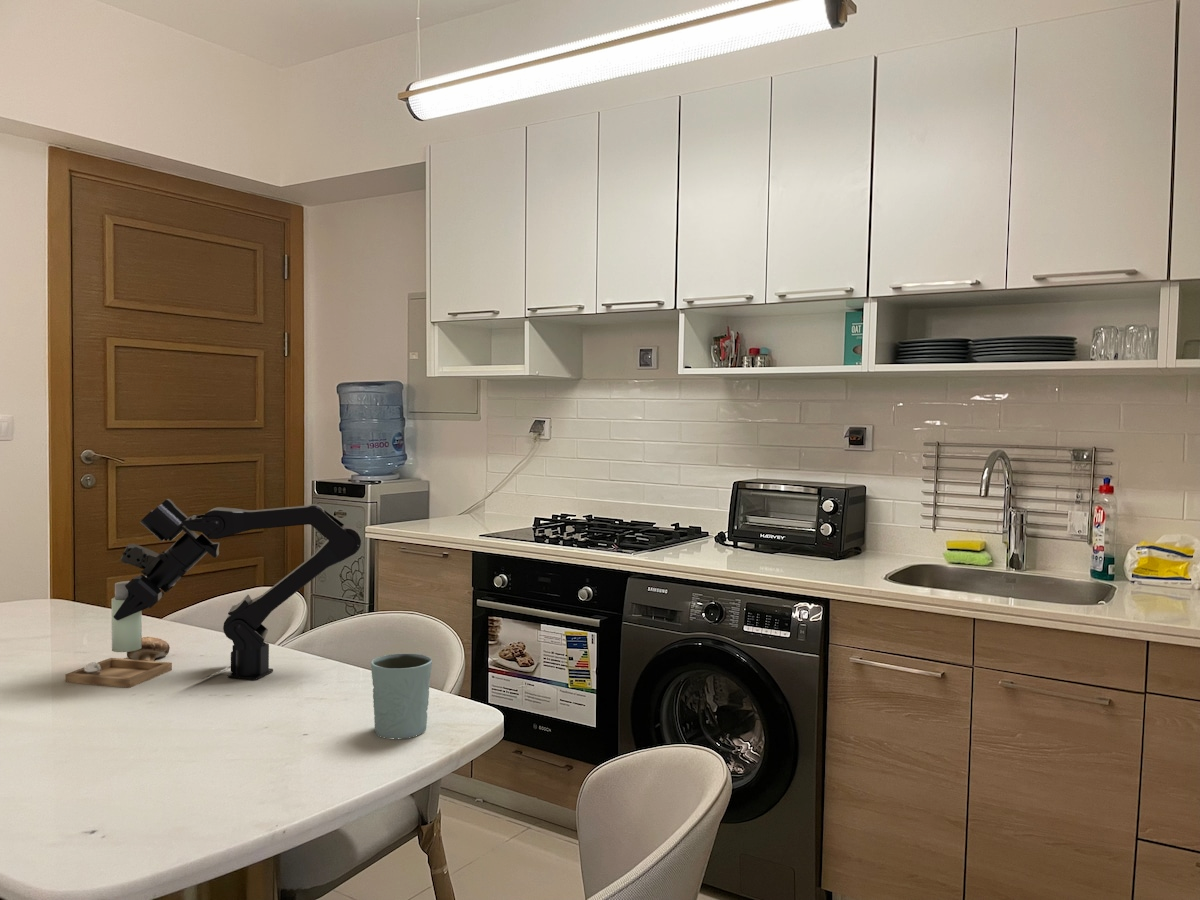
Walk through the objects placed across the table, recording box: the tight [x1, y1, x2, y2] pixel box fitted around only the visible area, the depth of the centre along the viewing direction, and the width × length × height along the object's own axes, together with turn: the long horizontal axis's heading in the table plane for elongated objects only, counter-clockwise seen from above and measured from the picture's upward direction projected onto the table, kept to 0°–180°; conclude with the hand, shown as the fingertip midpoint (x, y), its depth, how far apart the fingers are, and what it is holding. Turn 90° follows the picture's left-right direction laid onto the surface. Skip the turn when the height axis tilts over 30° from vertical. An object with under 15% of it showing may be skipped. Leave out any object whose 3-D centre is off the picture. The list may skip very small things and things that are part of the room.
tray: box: [65, 657, 173, 689], centre depth 176 cm, size 14×12×2 cm
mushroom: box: [126, 636, 171, 661], centre depth 188 cm, size 8×8×6 cm
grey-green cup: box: [370, 652, 433, 740], centre depth 152 cm, size 10×10×12 cm
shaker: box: [110, 580, 143, 653], centre depth 175 cm, size 5×5×13 cm
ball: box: [83, 661, 102, 675], centre depth 175 cm, size 3×3×3 cm
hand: (119, 615), depth 175 cm, fingers closed on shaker, 5 cm apart
